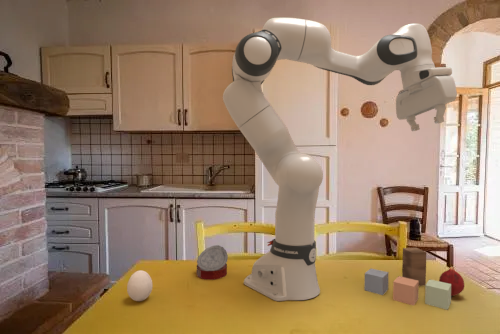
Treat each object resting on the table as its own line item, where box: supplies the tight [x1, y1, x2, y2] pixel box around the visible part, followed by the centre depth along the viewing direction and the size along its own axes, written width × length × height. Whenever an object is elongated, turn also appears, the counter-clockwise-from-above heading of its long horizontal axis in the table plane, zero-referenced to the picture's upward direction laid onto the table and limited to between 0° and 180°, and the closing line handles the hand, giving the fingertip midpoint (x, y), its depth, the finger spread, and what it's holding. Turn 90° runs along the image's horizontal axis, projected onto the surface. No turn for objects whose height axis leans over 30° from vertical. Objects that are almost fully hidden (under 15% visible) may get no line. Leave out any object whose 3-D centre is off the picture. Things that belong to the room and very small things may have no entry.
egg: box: [126, 269, 153, 302], centre depth 83 cm, size 6×6×8 cm
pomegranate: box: [438, 266, 465, 297], centre depth 85 cm, size 6×6×8 cm
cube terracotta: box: [392, 275, 420, 306], centre depth 84 cm, size 5×5×5 cm
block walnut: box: [401, 247, 427, 287], centre depth 94 cm, size 4×4×10 cm
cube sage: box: [424, 278, 452, 311], centre depth 81 cm, size 5×5×5 cm
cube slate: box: [364, 268, 389, 296], centre depth 89 cm, size 5×5×5 cm
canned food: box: [196, 244, 229, 281], centre depth 102 cm, size 11×10×10 cm
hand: (427, 126), depth 90 cm, fingers open, 8 cm apart
